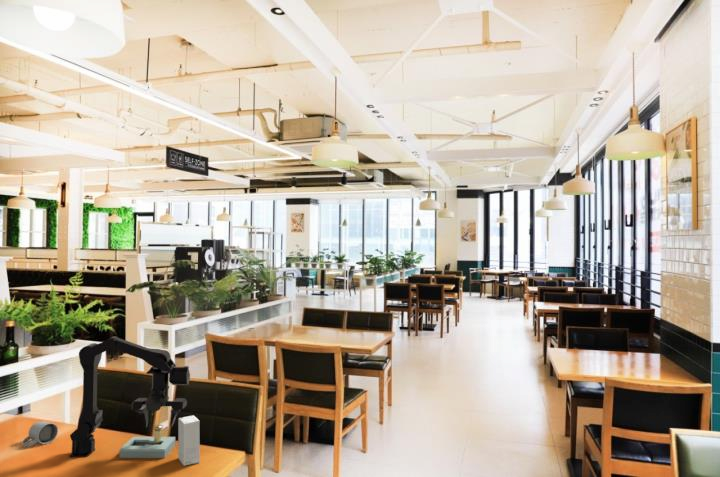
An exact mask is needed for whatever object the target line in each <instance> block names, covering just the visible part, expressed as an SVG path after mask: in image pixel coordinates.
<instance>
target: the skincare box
mask: <svg viewBox="0 0 720 477" xmlns="http://www.w3.org/2000/svg"><path fill="white" fill-rule="evenodd" d="M177 420H178V421H177V422H178V423H177V424H178V427H177V428H178V429H177V430H178V433H177V434H178V438H177V440H178V442H177V443H178V444H177V445H178V447H177V449H178V450H177V454H178V455H177V457H178V460H179V462H180V463H181V464H182V466H184V467H185V466H188V465H196V464H200V460H201V459H200V456H201V455H200V445H201V444H200V443H201V441H200V423H201V422H200V421H201V420H199V419H198V417H196V416H195V415H188V416H183V417H179V418H178V419H177Z"/></svg>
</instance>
